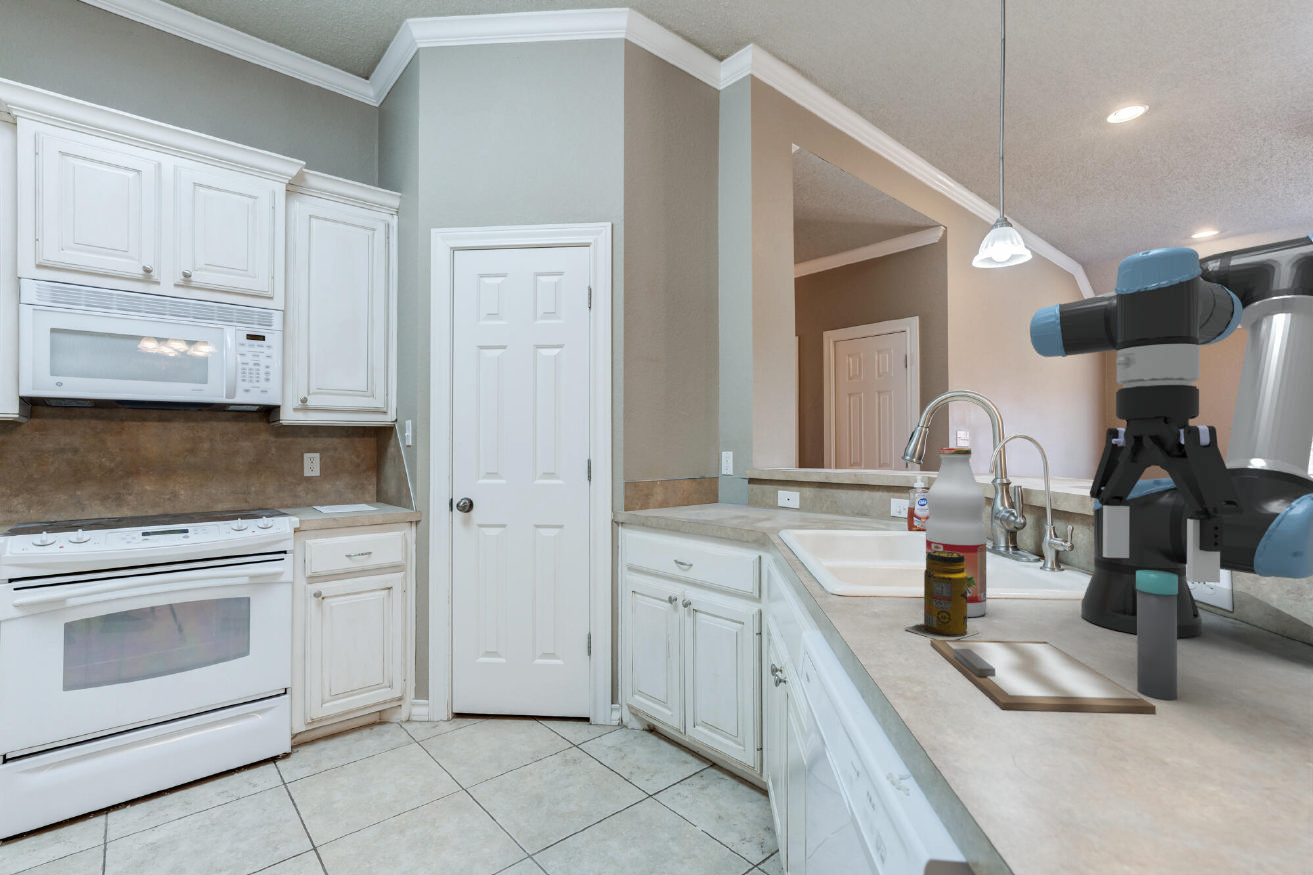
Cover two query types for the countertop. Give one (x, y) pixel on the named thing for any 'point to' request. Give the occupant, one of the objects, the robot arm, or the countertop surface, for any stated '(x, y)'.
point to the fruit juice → (959, 522)
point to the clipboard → (1037, 677)
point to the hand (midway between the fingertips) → (1155, 568)
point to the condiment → (944, 598)
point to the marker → (1157, 634)
